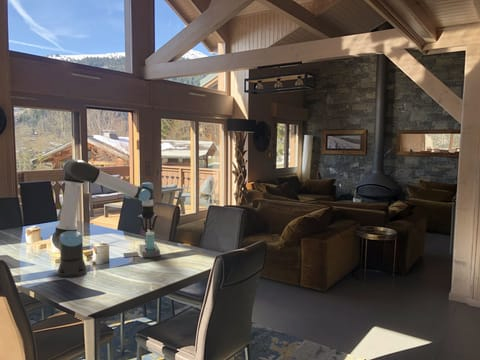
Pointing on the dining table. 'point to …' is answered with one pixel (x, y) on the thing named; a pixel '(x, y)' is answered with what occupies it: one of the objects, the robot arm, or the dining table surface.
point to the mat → (131, 254)
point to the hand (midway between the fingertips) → (148, 239)
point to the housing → (149, 253)
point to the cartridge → (149, 240)
